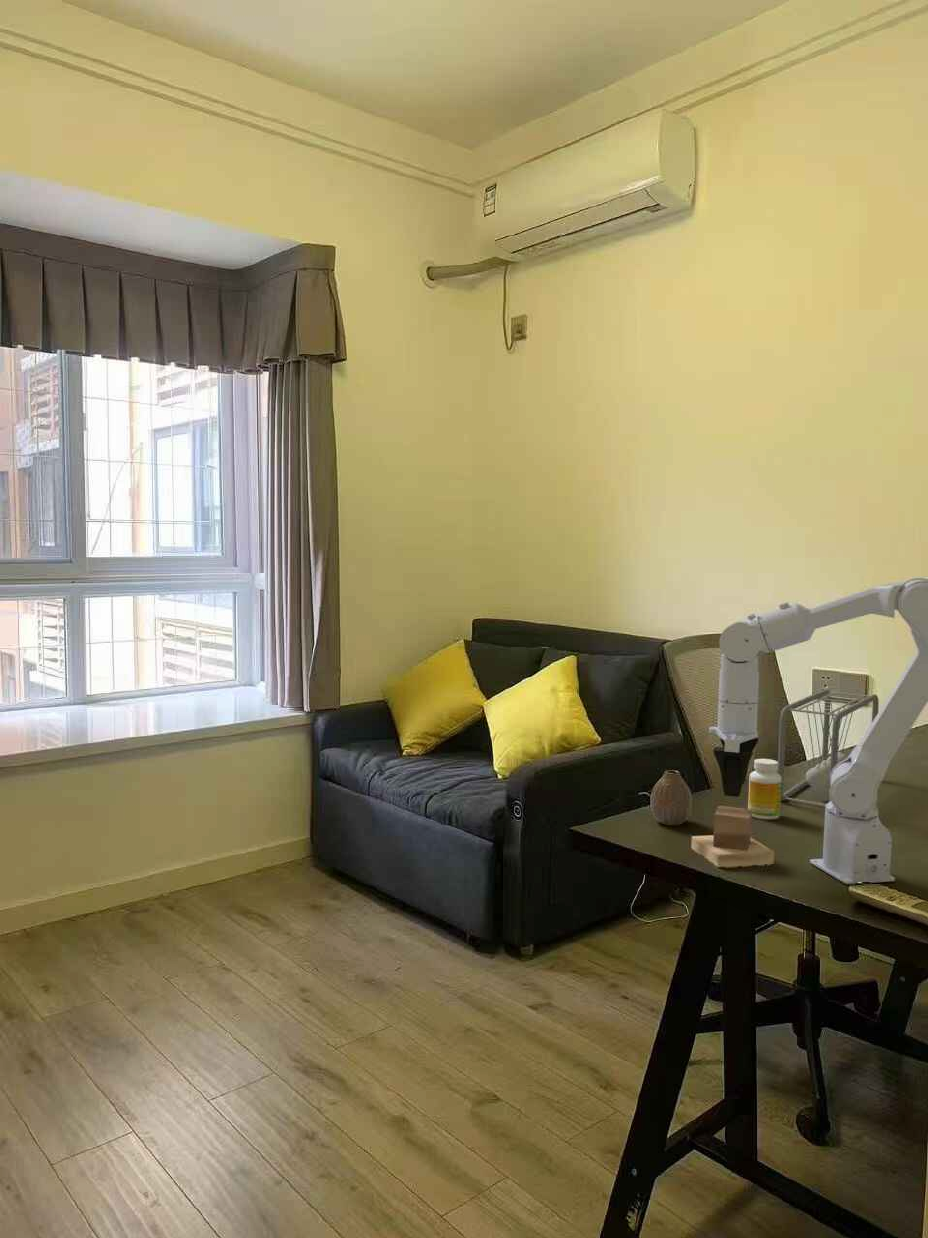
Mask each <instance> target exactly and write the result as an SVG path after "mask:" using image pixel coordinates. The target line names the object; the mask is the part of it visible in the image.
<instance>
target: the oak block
mask: <svg viewBox="0 0 928 1238" xmlns="http://www.w3.org/2000/svg"><path fill="white" fill-rule="evenodd" d="M713 841H714V834H713V835H694V836H693V835H692V836H691V850H693V851H694V852H696V853H697V854H698V855H700V856H701V855H702V856H704V857H705V858H706V859H708V860H709V861H710V862H712V863H713V864H714V865H713V864H712V863H711V864H712V865H713V866H715V865H716V866H717V867H725V868H736V867H737V868H738V866H742V867H753V866H752V865H758V866H771V865H770V864H775V863H774V862H775V851H773V850H772V849H770V848H769V847H767V846H766V845H764V844H763V843H761V842H759V841H757V840H756V839H754V838H752V837H751V841H750V845H749V848H748V851H745V850H737V849H729V848H721V847H713ZM702 856H701V857H702ZM704 857H703V858H704ZM705 858H704V859H705ZM706 859H705V860H706ZM708 860H707V861H708ZM709 861H708V862H709ZM710 862H709V863H710ZM765 864H767V865H765ZM749 865H750V866H749ZM716 866H715V867H716ZM717 867H716V868H717Z"/></svg>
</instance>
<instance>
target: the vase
mask: <svg viewBox="0 0 928 1238" xmlns="http://www.w3.org/2000/svg"><path fill="white" fill-rule="evenodd" d="M690 790H691V789H690V788H689V786H688V784H686V782H685V781H684V779H683V777H682V776H681V773H680V771H678V770H673V769H668V770H665V771H664V773H663V775H662V776H661V777H660V778H659V780H658V781H657V782H655V784H654V786H653V788H652V791H651V795H650V802H649V803H650V810H651V813H652V816H653V817H654V818H655V819H656V821H657V822H658V823H660V824H662V825H665V826H680V825H682V824H684V823H685V822H686V820H687V819H689V817H690V814H691V811H692V805H693V800H692V799H693V797H692V792H691V791H690Z"/></svg>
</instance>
